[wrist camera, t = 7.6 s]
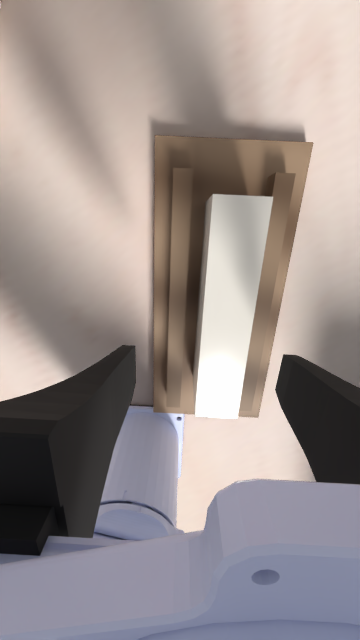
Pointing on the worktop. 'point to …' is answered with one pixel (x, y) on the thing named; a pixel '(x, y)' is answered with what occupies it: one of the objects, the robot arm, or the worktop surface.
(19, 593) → the robot arm
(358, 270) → the worktop surface
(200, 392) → the white rectangular block
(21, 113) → the worktop surface
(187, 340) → the railed tan base plate
